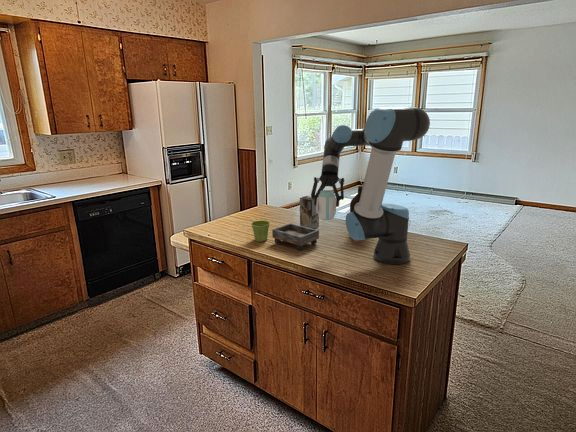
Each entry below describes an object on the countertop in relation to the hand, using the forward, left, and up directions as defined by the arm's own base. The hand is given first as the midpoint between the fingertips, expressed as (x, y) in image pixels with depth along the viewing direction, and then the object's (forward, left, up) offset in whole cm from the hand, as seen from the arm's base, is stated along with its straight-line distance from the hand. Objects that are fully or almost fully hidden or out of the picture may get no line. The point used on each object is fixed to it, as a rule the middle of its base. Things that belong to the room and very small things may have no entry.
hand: (325, 212), depth 161 cm
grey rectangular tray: (+19, -2, -20) cm, 28 cm away
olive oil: (+3, -34, -20) cm, 39 cm away
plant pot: (+36, +4, -20) cm, 42 cm away
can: (+2, -3, -4) cm, 5 cm away
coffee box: (+31, -28, -20) cm, 46 cm away
